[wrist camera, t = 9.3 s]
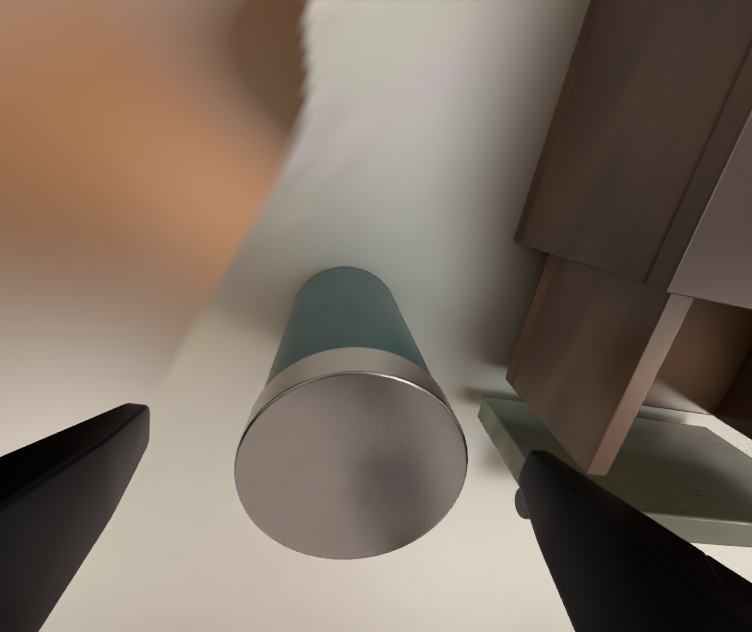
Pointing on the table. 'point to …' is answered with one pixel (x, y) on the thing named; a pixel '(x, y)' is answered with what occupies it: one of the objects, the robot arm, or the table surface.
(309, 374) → the tea tin
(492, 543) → the table surface
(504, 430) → the drawer
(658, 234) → the cabinet
